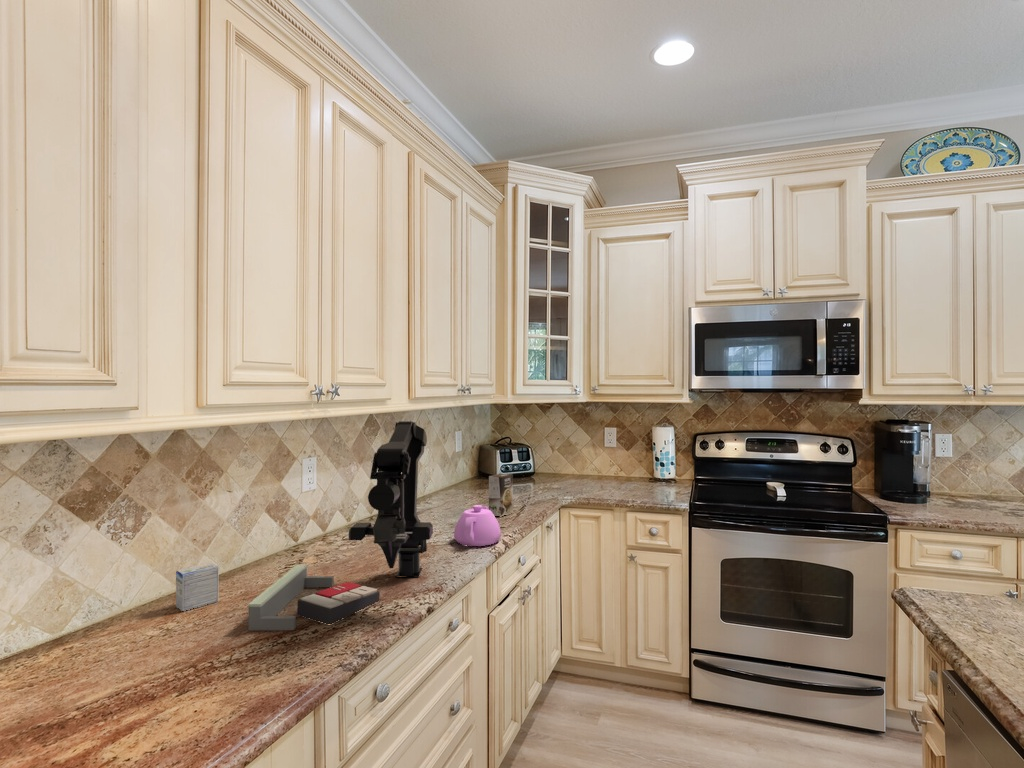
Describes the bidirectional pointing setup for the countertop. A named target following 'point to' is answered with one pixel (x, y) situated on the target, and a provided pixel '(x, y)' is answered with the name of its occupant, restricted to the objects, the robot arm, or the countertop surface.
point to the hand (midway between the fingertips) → (391, 567)
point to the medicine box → (197, 586)
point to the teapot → (477, 527)
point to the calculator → (337, 602)
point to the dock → (282, 599)
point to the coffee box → (501, 494)
